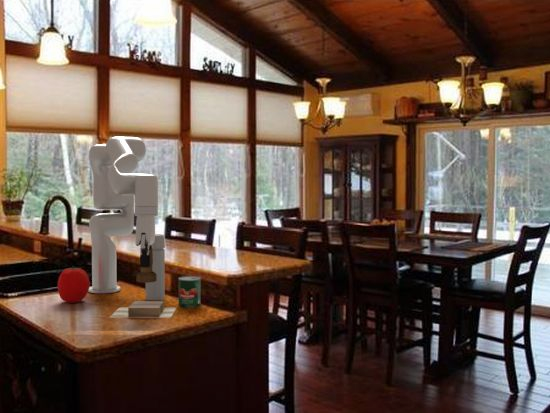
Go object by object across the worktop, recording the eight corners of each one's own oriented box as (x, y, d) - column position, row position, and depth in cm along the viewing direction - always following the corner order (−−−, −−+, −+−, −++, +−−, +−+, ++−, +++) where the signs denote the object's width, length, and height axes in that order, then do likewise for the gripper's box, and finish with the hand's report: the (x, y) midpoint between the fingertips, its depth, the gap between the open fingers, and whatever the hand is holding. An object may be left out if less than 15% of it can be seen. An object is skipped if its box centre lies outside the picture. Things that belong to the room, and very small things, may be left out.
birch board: (119, 310, 197) (119, 307, 197) (176, 310, 198) (176, 307, 198) (109, 321, 183) (109, 317, 183) (170, 321, 184) (170, 317, 184)
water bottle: (169, 300, 214) (169, 235, 212) (152, 304, 208) (152, 236, 206) (154, 296, 220) (154, 233, 218) (137, 300, 214) (137, 234, 212)
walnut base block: (134, 309, 195) (134, 300, 194) (163, 309, 195) (163, 301, 195) (128, 316, 185) (128, 307, 184) (158, 317, 185) (158, 307, 185)
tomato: (49, 303, 207) (48, 267, 206) (74, 297, 218) (74, 263, 217) (72, 307, 202) (72, 270, 201) (97, 300, 213) (97, 265, 212)
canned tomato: (180, 311, 197) (180, 280, 196) (176, 306, 204) (176, 276, 204) (203, 309, 200) (203, 279, 199) (197, 305, 207) (197, 275, 207)
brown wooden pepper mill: (147, 283, 185) (146, 228, 184) (132, 281, 188) (132, 227, 187) (160, 280, 190) (160, 227, 189) (145, 278, 194) (145, 226, 192)
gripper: (140, 209, 196) (140, 261, 197) (129, 213, 179) (129, 270, 180) (161, 209, 196) (161, 262, 197) (153, 213, 179) (153, 270, 181)
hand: (146, 265), depth 189 cm, fingers closed on brown wooden pepper mill, 4 cm apart
